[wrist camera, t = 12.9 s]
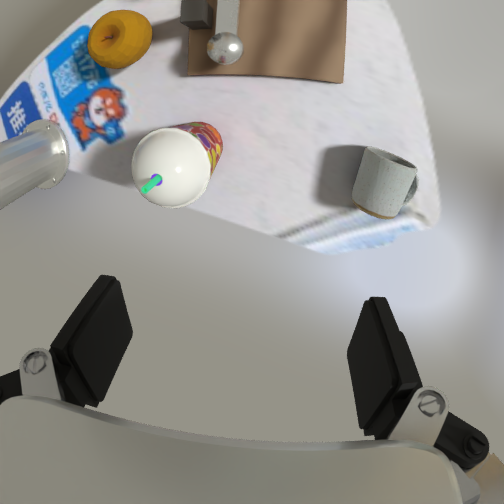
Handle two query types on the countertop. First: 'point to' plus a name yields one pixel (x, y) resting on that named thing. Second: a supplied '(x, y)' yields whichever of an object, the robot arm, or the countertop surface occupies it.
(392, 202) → the ceramic mug
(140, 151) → the smoothie
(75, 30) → the countertop surface
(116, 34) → the apple
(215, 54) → the lever
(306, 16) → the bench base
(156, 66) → the countertop surface
